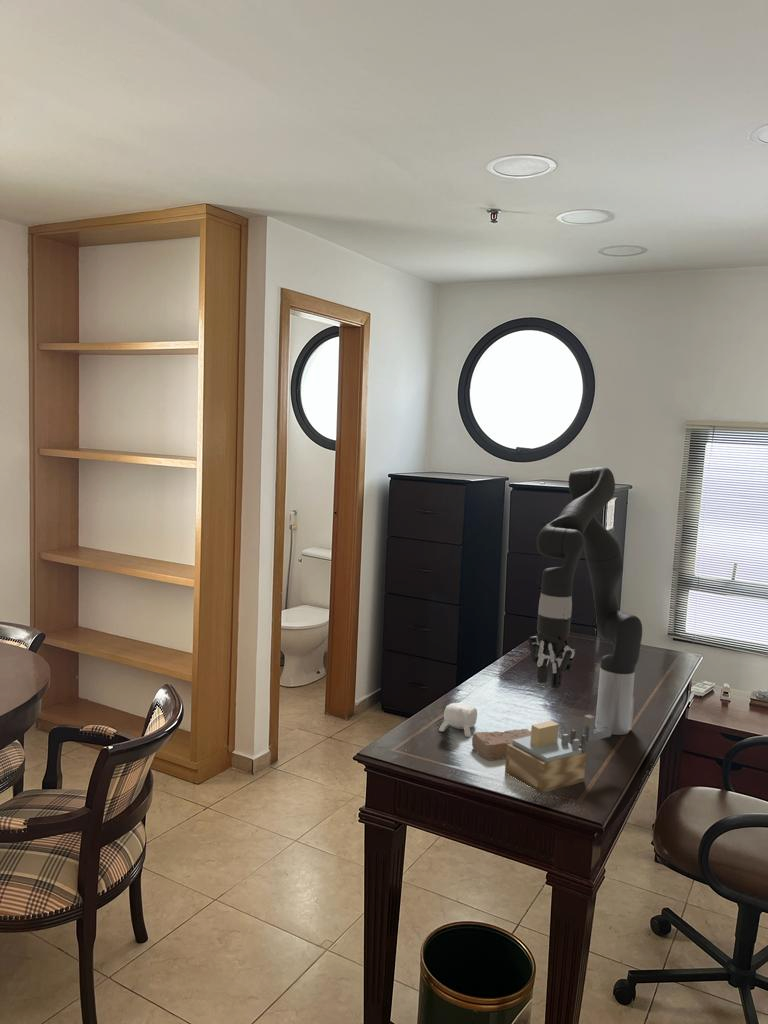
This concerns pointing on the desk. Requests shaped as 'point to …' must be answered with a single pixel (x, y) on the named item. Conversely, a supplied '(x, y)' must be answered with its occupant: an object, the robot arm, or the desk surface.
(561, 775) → the wooden box
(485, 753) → the brick
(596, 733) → the grey angled block
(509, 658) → the desk surface
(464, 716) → the white animal figurine
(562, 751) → the lid
